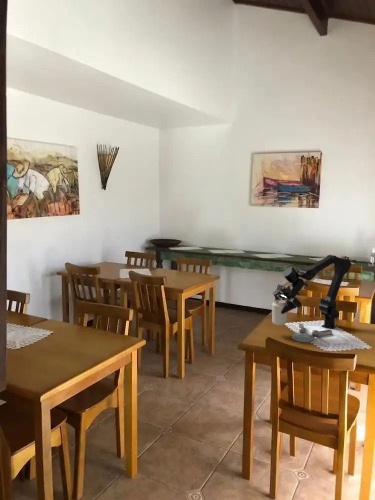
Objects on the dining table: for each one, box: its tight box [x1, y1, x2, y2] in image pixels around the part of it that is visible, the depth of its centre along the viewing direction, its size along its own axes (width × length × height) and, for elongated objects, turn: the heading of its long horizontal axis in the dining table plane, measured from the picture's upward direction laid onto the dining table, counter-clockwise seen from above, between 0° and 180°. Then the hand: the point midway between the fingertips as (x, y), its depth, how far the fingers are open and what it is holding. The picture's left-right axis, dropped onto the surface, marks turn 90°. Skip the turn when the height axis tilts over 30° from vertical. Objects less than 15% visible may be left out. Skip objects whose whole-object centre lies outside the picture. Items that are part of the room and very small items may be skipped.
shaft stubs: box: [298, 323, 333, 338], centre depth 218 cm, size 10×19×3 cm, turn 48°
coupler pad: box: [291, 332, 315, 343], centre depth 211 cm, size 11×11×1 cm
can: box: [271, 299, 288, 326], centre depth 214 cm, size 8×8×12 cm
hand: (277, 311), depth 213 cm, fingers closed on can, 7 cm apart
